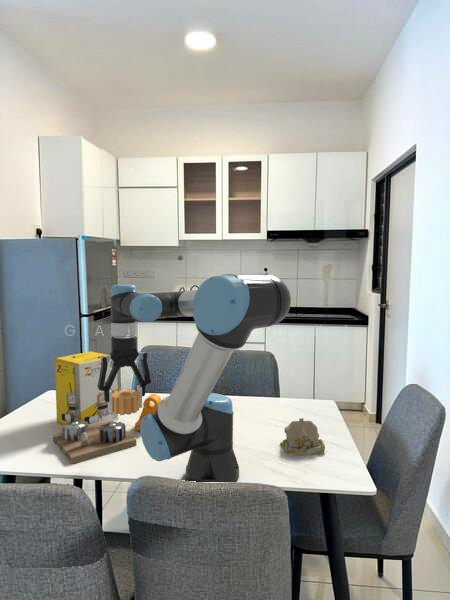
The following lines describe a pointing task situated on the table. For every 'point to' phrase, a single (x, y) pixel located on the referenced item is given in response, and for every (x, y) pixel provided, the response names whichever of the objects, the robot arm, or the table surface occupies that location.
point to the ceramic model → (302, 439)
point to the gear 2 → (112, 432)
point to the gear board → (90, 445)
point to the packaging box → (82, 389)
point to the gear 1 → (74, 429)
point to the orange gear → (125, 402)
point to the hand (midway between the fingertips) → (125, 409)
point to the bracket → (148, 408)
